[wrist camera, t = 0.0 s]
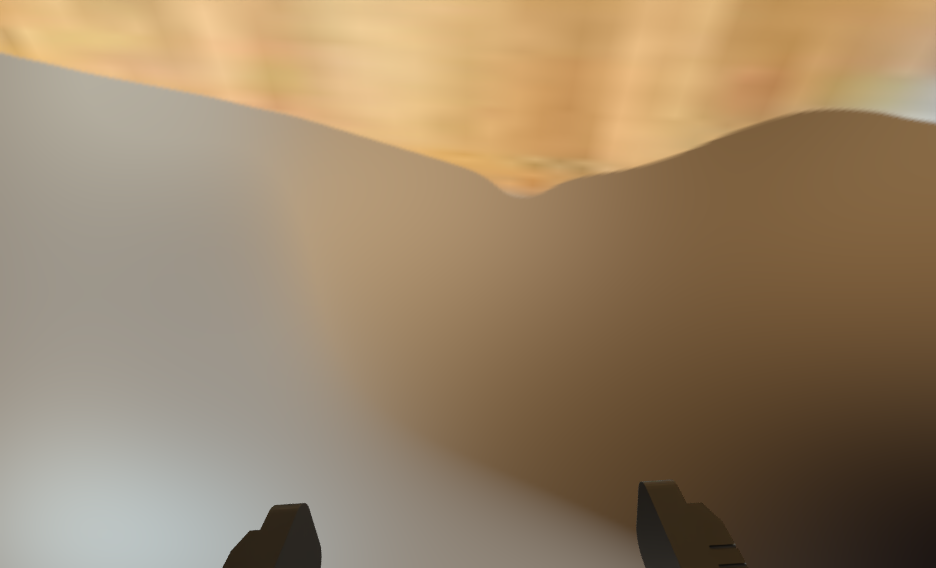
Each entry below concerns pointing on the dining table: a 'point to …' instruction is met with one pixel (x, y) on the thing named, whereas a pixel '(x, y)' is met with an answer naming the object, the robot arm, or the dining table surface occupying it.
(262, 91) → the dining table surface
